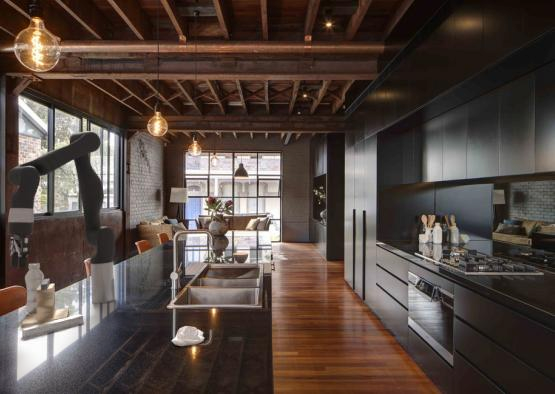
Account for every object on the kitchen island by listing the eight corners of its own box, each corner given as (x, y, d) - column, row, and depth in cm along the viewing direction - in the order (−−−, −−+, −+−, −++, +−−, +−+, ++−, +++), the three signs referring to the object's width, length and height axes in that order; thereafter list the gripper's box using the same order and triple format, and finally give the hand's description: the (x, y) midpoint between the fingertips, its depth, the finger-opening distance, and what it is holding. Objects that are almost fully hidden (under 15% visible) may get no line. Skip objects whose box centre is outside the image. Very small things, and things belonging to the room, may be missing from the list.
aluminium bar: (80, 322, 134) (79, 314, 134) (83, 323, 132) (83, 315, 132) (22, 337, 121) (22, 328, 121) (25, 339, 119) (24, 330, 119)
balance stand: (68, 311, 148) (67, 276, 148) (67, 321, 135) (65, 282, 135) (27, 318, 141) (26, 280, 141) (21, 328, 129) (20, 287, 129)
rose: (188, 319, 118) (211, 323, 113) (189, 333, 118) (211, 338, 113) (164, 329, 109) (187, 334, 104) (164, 344, 109) (187, 350, 104)
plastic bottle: (36, 315, 145) (34, 265, 145) (21, 315, 146) (20, 265, 146) (49, 310, 151) (47, 262, 151) (35, 310, 152) (33, 262, 152)
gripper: (40, 221, 129) (37, 267, 128) (26, 222, 138) (23, 265, 137) (14, 220, 124) (11, 269, 122) (2, 221, 133) (-1, 266, 131)
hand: (18, 267), depth 129 cm, fingers open, 8 cm apart
